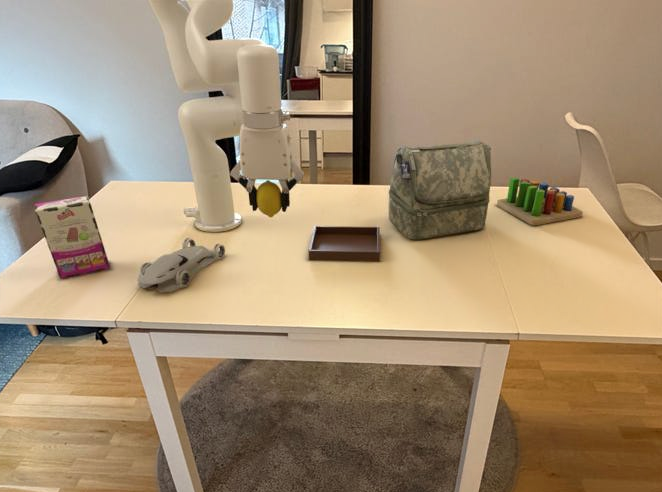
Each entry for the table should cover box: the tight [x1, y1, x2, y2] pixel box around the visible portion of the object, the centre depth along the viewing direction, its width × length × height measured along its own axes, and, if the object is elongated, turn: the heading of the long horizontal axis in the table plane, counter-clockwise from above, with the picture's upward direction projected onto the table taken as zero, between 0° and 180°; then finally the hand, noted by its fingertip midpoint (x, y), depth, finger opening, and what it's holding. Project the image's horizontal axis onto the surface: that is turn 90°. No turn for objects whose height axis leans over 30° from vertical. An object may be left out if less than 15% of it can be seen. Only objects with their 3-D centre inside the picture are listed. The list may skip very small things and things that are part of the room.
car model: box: [136, 237, 226, 293], centre depth 126 cm, size 11×24×5 cm, turn 158°
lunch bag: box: [387, 140, 492, 240], centre depth 143 cm, size 26×18×22 cm
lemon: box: [256, 180, 282, 218], centre depth 115 cm, size 6×6×8 cm
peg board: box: [496, 176, 584, 226], centre depth 156 cm, size 18×17×9 cm
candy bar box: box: [34, 195, 111, 280], centre depth 123 cm, size 11×5×16 cm, turn 118°
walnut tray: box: [308, 225, 381, 263], centre depth 138 cm, size 17×15×2 cm
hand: (270, 208), depth 116 cm, fingers closed on lemon, 5 cm apart
